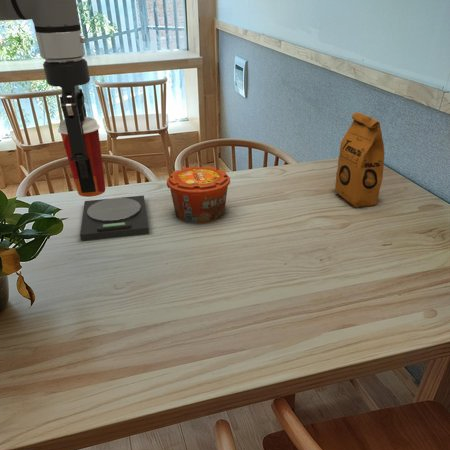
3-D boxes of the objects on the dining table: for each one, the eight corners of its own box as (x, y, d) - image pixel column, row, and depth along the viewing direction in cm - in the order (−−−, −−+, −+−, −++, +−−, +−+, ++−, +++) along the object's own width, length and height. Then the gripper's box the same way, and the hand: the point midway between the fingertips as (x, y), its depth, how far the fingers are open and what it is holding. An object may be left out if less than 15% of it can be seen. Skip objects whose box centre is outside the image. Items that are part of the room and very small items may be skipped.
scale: (82, 244, 107) (79, 231, 105) (86, 209, 123) (83, 197, 121) (149, 236, 109) (147, 224, 107) (144, 203, 125) (143, 192, 123)
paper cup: (98, 181, 97) (85, 113, 89) (117, 191, 93) (105, 120, 84) (65, 191, 93) (48, 121, 85) (83, 202, 88) (67, 129, 80)
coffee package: (349, 210, 119) (362, 124, 106) (329, 192, 129) (339, 112, 116) (383, 206, 121) (400, 121, 108) (361, 189, 131) (374, 109, 118)
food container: (241, 219, 116) (241, 179, 110) (185, 234, 110) (182, 193, 103) (212, 198, 127) (211, 161, 121) (160, 210, 121) (156, 172, 115)
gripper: (82, 67, 71) (107, 202, 85) (89, 50, 87) (109, 167, 100) (33, 69, 70) (66, 205, 84) (49, 52, 86) (75, 169, 99)
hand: (90, 184), depth 92 cm, fingers closed on paper cup, 7 cm apart
